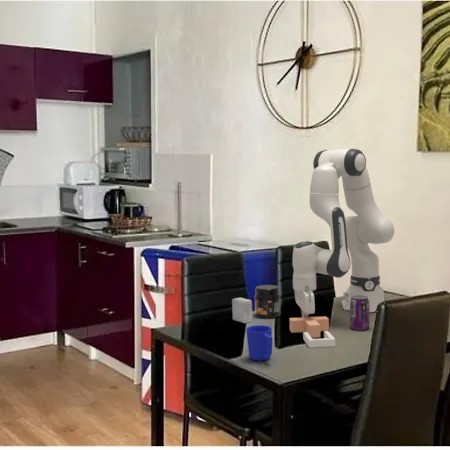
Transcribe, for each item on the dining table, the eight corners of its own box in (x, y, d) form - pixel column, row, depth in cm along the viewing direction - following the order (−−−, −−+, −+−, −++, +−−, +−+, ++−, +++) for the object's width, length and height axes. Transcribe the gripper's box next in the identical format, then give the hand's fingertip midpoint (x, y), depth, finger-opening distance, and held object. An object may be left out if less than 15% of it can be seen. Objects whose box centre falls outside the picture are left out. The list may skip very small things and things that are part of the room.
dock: (303, 339, 232) (303, 332, 232) (328, 337, 233) (328, 331, 232) (309, 347, 221) (309, 340, 221) (335, 346, 222) (335, 339, 222)
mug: (259, 367, 202) (258, 336, 201) (242, 357, 213) (242, 327, 212) (282, 363, 205) (282, 332, 204) (265, 353, 216) (264, 324, 215)
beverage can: (369, 331, 240) (369, 299, 239) (350, 330, 241) (349, 298, 240) (369, 326, 247) (369, 295, 246) (350, 325, 248) (350, 294, 247)
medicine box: (252, 321, 259) (252, 300, 258) (243, 323, 256) (243, 302, 255) (241, 318, 265) (240, 297, 264) (232, 319, 263) (231, 298, 262)
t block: (289, 329, 245) (289, 318, 245) (326, 328, 246) (326, 316, 246) (295, 338, 233) (295, 326, 233) (334, 336, 234) (334, 324, 234)
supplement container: (249, 316, 268) (248, 287, 267) (268, 311, 275) (268, 283, 274) (266, 320, 260) (266, 290, 259) (286, 315, 267) (285, 287, 265)
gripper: (318, 289, 239) (319, 326, 240) (307, 279, 259) (307, 313, 261) (301, 290, 238) (302, 327, 240) (291, 280, 259) (292, 314, 260)
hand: (305, 320), depth 250 cm, fingers closed
